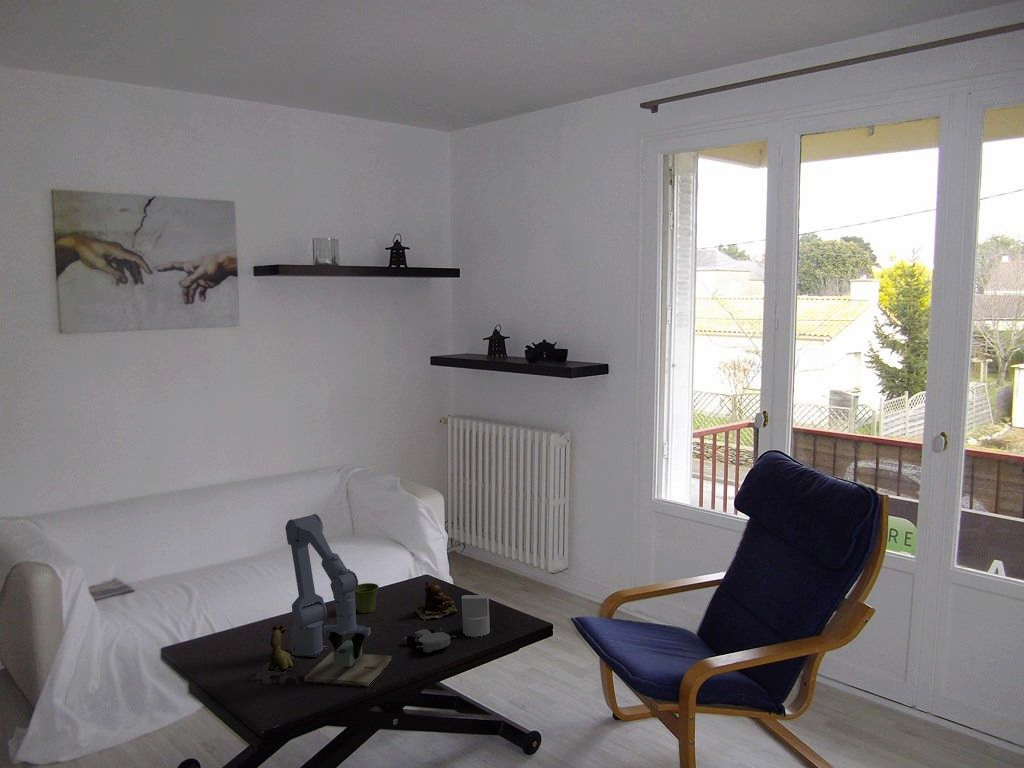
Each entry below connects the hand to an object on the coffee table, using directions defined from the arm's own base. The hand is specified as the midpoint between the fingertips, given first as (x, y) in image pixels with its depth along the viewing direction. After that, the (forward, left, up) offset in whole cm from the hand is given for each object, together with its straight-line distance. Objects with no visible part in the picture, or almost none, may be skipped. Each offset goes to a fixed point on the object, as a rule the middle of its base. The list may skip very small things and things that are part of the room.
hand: (348, 657), depth 244 cm
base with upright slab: (+30, +35, -5) cm, 46 cm away
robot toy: (+18, +21, -5) cm, 28 cm away
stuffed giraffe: (-20, -3, -5) cm, 21 cm away
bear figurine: (+11, +50, -5) cm, 52 cm away
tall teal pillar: (0, 0, -1) cm, 1 cm away
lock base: (0, 0, -4) cm, 4 cm away
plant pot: (-15, +48, -5) cm, 50 cm away
